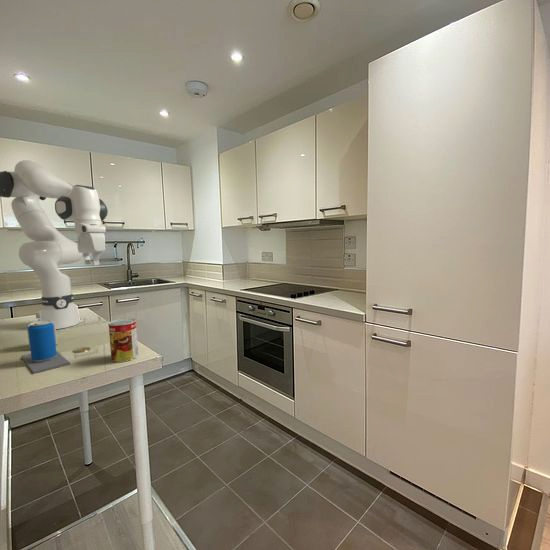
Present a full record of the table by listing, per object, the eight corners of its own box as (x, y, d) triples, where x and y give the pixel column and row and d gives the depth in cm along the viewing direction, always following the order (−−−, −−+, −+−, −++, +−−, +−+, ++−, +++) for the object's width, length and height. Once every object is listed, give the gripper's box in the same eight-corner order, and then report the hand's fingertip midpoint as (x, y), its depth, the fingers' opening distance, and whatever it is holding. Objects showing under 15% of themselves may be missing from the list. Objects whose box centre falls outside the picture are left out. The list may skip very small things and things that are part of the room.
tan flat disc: (70, 350, 109) (70, 350, 109) (87, 346, 113) (87, 346, 113) (75, 353, 105) (75, 353, 105) (92, 349, 109) (92, 349, 109)
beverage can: (40, 355, 102) (36, 320, 101) (61, 355, 103) (57, 319, 102) (26, 363, 96) (22, 325, 95) (48, 362, 96) (44, 325, 95)
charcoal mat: (21, 357, 103) (21, 355, 103) (53, 350, 110) (53, 348, 110) (33, 373, 90) (33, 371, 90) (69, 364, 96) (69, 362, 96)
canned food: (113, 355, 103) (110, 320, 102) (139, 352, 106) (136, 317, 104) (109, 364, 96) (106, 326, 94) (137, 360, 98) (134, 323, 97)
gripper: (71, 229, 123) (74, 264, 125) (88, 227, 109) (91, 266, 111) (89, 229, 128) (92, 263, 129) (107, 227, 114) (110, 265, 115)
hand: (91, 264), depth 120 cm, fingers open, 8 cm apart
